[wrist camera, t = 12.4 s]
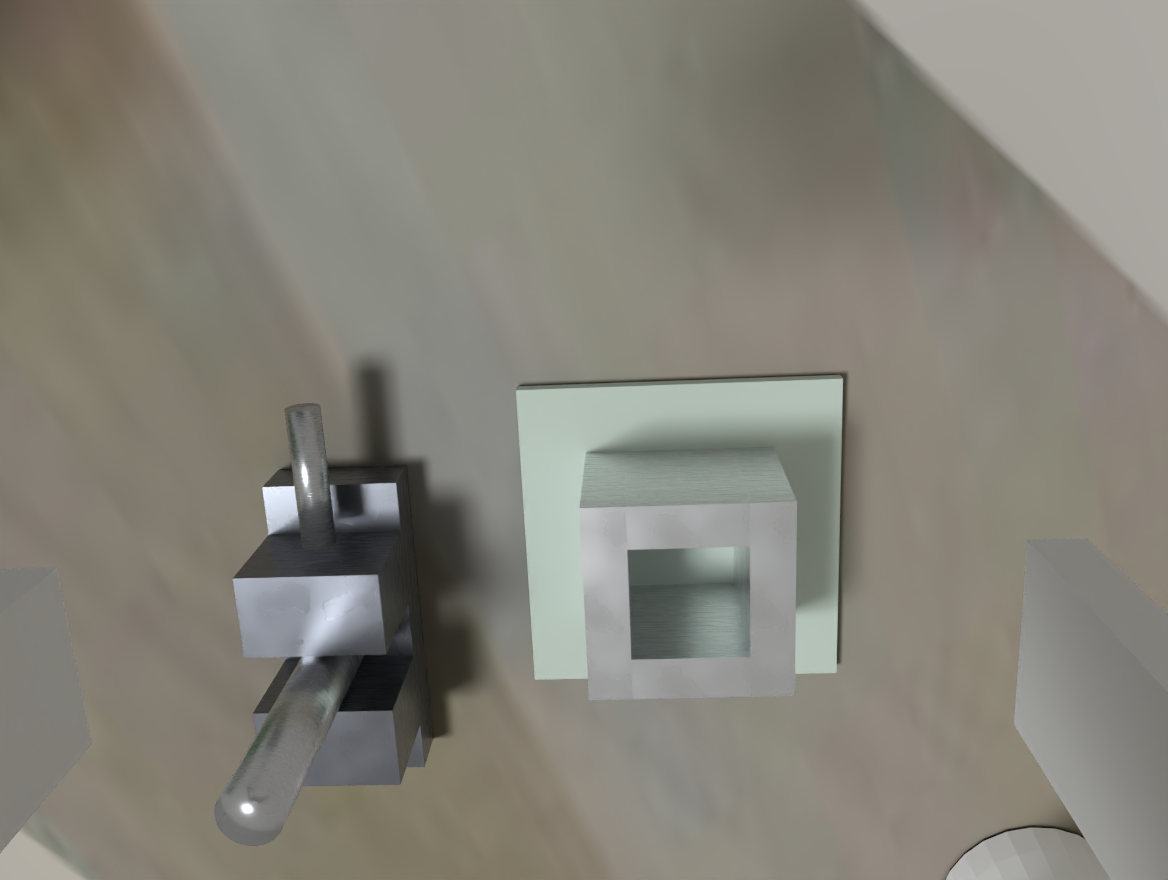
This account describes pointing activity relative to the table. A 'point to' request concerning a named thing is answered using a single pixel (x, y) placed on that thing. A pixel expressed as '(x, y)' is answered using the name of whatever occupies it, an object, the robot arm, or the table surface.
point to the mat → (669, 422)
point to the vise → (329, 636)
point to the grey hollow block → (689, 611)
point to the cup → (1030, 858)
